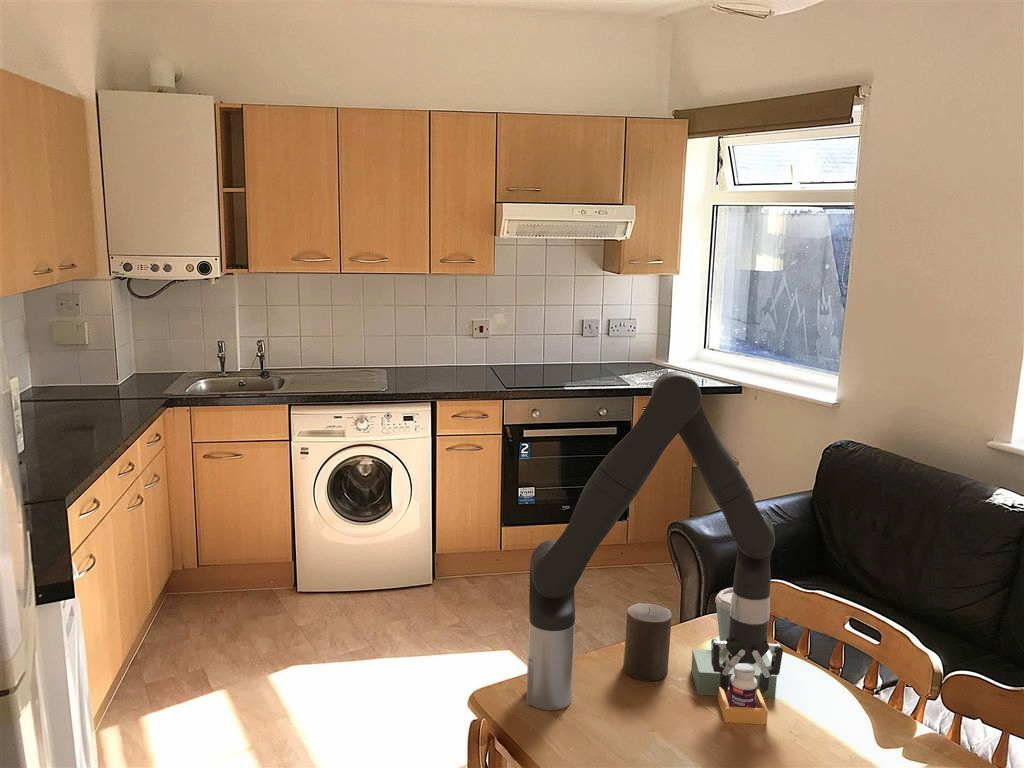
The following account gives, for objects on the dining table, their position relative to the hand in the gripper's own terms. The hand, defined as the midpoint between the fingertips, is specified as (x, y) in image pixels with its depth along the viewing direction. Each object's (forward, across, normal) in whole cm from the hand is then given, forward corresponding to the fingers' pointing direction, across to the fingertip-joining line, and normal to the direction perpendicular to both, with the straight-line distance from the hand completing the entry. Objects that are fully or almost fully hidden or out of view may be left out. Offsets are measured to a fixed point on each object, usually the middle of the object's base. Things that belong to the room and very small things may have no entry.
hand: (743, 690), depth 178 cm
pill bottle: (+5, 0, 0) cm, 5 cm away
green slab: (+5, 0, -5) cm, 7 cm away
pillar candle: (+5, +18, -15) cm, 24 cm away
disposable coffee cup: (+5, -3, -24) cm, 25 cm away
